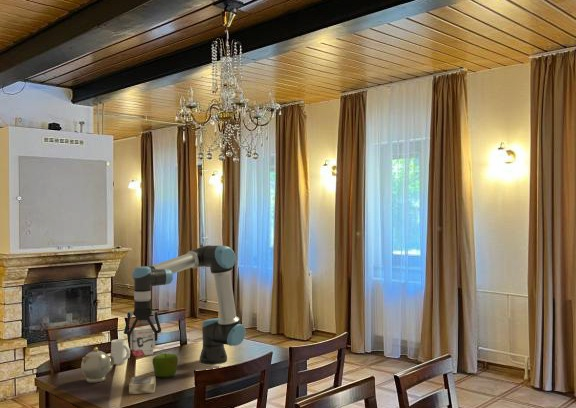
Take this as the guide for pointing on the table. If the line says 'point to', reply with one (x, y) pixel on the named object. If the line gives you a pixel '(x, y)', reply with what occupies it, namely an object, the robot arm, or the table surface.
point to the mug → (119, 351)
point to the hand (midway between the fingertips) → (142, 348)
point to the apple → (165, 365)
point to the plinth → (142, 385)
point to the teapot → (96, 365)
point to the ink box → (142, 341)
